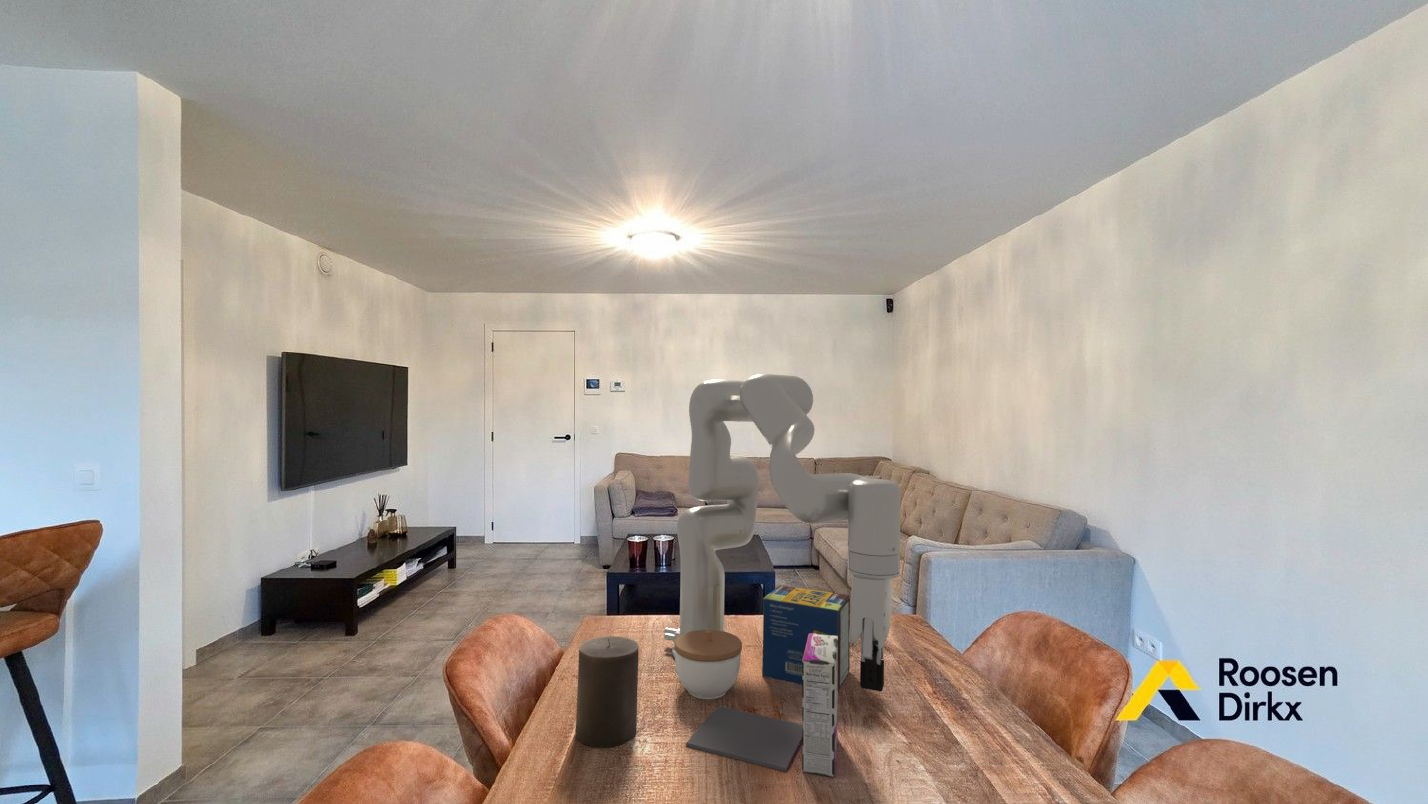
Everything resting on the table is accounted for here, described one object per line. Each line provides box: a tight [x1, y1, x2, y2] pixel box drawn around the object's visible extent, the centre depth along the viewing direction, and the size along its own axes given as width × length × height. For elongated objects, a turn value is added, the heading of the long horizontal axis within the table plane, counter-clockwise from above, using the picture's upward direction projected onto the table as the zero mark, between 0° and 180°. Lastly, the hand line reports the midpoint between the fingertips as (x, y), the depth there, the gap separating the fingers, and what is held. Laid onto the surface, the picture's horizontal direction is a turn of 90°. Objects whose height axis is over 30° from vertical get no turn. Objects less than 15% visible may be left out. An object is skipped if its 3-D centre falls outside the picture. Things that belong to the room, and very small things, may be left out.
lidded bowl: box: [674, 630, 743, 701], centre depth 111 cm, size 13×13×11 cm
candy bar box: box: [801, 633, 839, 778], centre depth 91 cm, size 11×5×16 cm, turn 166°
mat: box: [685, 705, 802, 773], centre depth 95 cm, size 16×13×1 cm
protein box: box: [761, 584, 851, 691], centre depth 119 cm, size 10×15×16 cm
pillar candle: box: [575, 635, 640, 748], centre depth 96 cm, size 10×10×15 cm
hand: (872, 687), depth 88 cm, fingers closed
